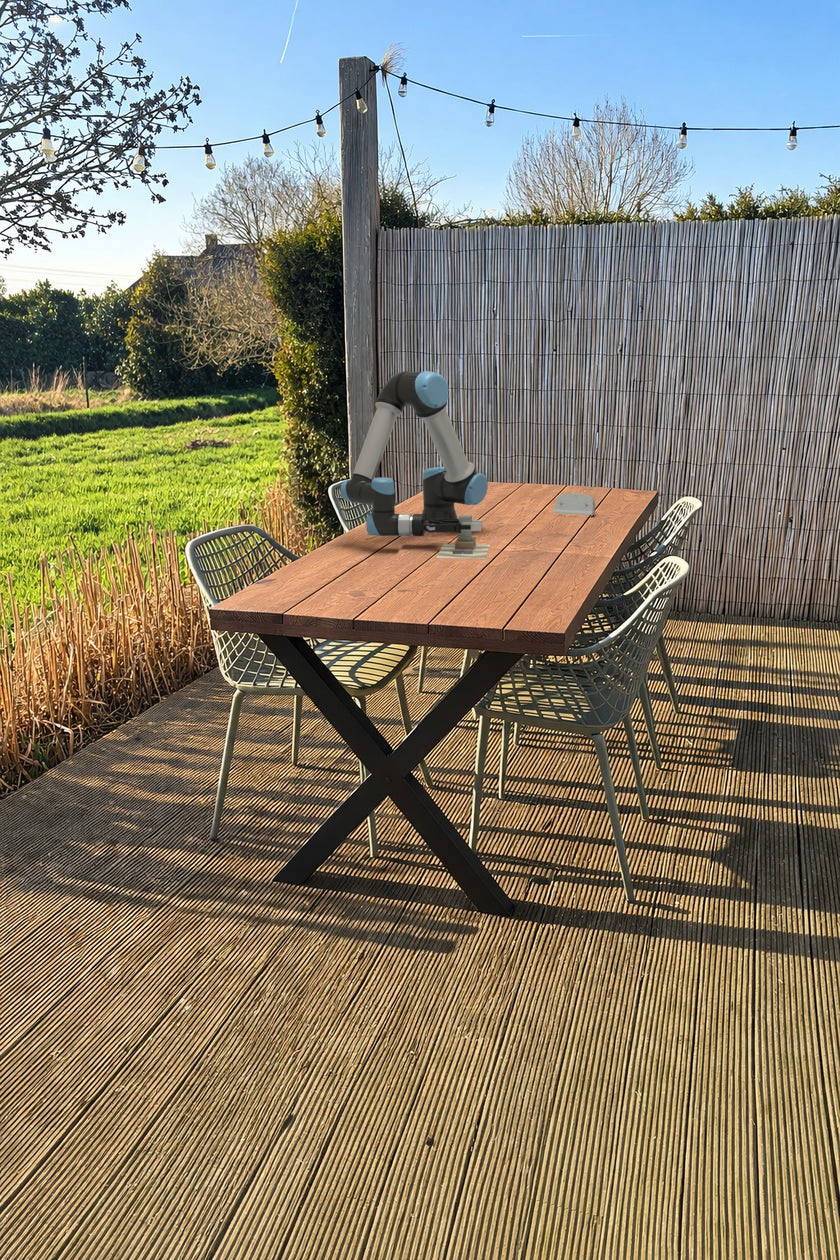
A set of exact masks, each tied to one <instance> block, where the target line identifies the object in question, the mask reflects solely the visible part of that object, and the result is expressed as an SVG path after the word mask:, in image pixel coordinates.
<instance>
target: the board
mask: <svg viewBox="0 0 840 1260" xmlns="http://www.w3.org/2000/svg"><path fill="white" fill-rule="evenodd" d="M490 547H491V544H476V545H475V547H474V550H473V554H463V553H462V554H453V549H455V543H454V544H453V543H443V545H442V546H441V548H440V550H439V552H438V553H437V555H436V557H435V559H458V560H459V559H464V560H465V559H468V560H469V559H471V560H472V559H477V560H481V559H482V560H486V558H487V556H488V552H489V551H490Z"/></svg>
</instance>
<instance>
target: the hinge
mask: <svg viewBox="0 0 840 1260" xmlns="http://www.w3.org/2000/svg"><path fill="white" fill-rule="evenodd" d="M595 502H596V501H595V498H594V497H592V496H590V495H588V494H584V493H577V492H568V493H563V494H560V495H557V497H556V500H555V503H554V504H555V505H554V507H553V508H554V509H553V511H552V514H553V513H560V514H578V515H591V516H592V515H594V514H595V515H596V513H595V512H596V506H595V505H596V503H595ZM592 517H593V516H592Z"/></svg>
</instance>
